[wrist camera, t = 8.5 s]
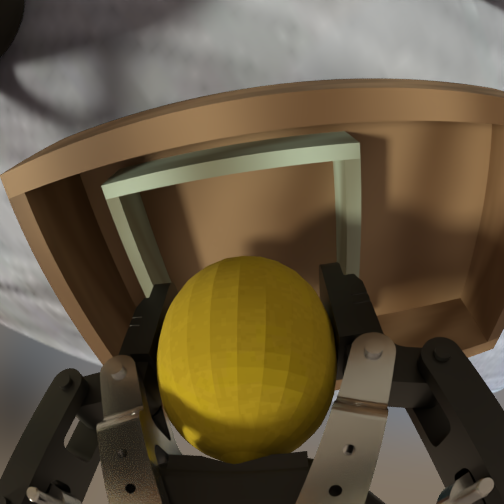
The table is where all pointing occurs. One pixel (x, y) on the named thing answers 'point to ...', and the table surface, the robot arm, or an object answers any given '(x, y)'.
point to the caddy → (282, 202)
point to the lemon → (246, 360)
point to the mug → (9, 22)
